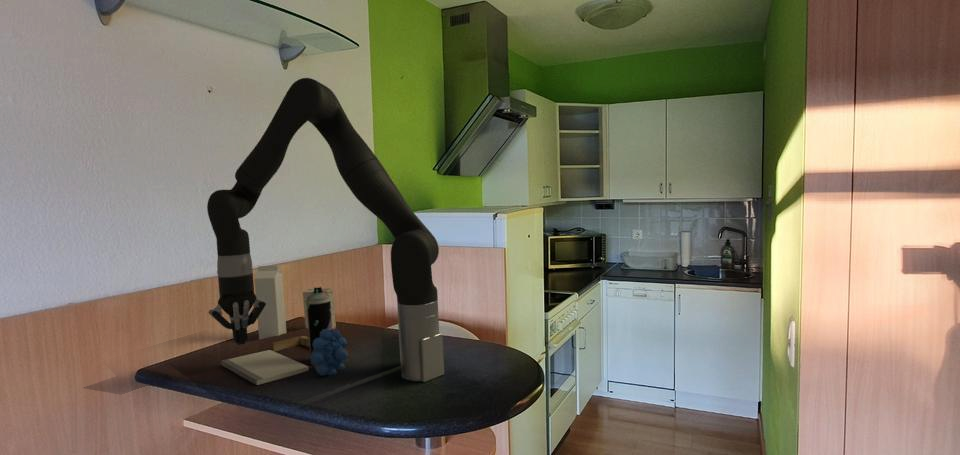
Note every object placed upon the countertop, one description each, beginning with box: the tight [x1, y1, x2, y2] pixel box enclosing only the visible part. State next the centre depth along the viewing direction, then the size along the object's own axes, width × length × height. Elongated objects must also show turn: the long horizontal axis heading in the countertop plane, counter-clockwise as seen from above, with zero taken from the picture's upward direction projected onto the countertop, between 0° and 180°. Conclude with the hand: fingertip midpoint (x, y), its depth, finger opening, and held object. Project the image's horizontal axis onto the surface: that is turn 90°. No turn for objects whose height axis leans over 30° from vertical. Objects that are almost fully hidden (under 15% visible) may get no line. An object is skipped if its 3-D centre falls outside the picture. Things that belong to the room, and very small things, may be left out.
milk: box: [254, 265, 287, 340], centre depth 149 cm, size 6×6×22 cm
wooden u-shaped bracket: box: [271, 335, 351, 370], centre depth 127 cm, size 24×9×4 cm, turn 47°
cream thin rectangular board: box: [220, 349, 310, 386], centre depth 119 cm, size 21×2×13 cm
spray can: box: [307, 286, 332, 366], centre depth 121 cm, size 6×6×20 cm
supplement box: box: [302, 287, 337, 329], centre depth 155 cm, size 8×5×13 cm, turn 84°
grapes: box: [310, 328, 350, 376], centre depth 113 cm, size 12×7×12 cm, turn 158°
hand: (240, 343), depth 120 cm, fingers closed
